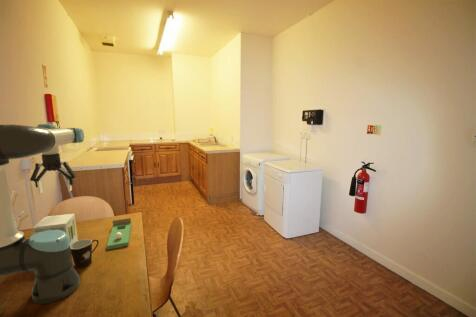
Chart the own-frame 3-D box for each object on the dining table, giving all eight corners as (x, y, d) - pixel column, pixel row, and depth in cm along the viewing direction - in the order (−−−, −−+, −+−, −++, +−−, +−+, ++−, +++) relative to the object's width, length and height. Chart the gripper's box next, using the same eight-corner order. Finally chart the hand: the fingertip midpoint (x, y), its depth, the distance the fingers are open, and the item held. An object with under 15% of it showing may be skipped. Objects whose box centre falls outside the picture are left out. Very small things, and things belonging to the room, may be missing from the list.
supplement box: (70, 257, 115) (65, 223, 112) (37, 262, 111) (31, 227, 108) (79, 243, 127) (75, 212, 124) (49, 247, 123) (45, 216, 120)
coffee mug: (73, 272, 103) (70, 251, 102) (71, 263, 110) (68, 243, 108) (103, 262, 111) (100, 242, 109) (99, 253, 117) (97, 235, 115)
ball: (122, 239, 127) (121, 233, 126) (114, 240, 126) (114, 234, 125) (122, 236, 130) (122, 230, 130) (115, 237, 129) (115, 231, 128)
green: (128, 245, 125) (127, 237, 124) (107, 249, 121) (106, 240, 120) (131, 225, 148) (130, 217, 148) (113, 227, 145) (112, 220, 144)
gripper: (80, 151, 132) (84, 187, 135) (25, 153, 125) (31, 192, 128) (75, 153, 125) (79, 191, 128) (17, 155, 118) (24, 196, 121)
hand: (55, 192), depth 128 cm, fingers open, 13 cm apart
